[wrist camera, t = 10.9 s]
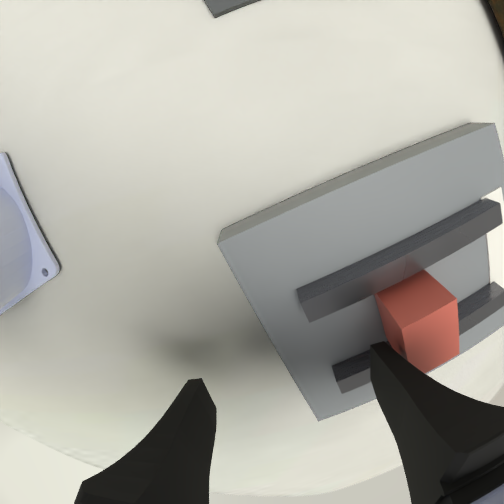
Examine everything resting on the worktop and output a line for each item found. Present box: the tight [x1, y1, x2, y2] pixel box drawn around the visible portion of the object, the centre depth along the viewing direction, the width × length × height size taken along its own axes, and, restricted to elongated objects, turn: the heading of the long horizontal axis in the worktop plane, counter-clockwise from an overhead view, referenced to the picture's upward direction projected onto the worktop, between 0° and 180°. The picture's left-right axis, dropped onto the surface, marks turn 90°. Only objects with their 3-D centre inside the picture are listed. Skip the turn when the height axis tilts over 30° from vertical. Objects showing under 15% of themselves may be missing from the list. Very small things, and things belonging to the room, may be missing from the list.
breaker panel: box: [217, 123, 504, 421], centre depth 13 cm, size 14×12×3 cm
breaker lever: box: [374, 269, 459, 373], centre depth 11 cm, size 2×3×3 cm
